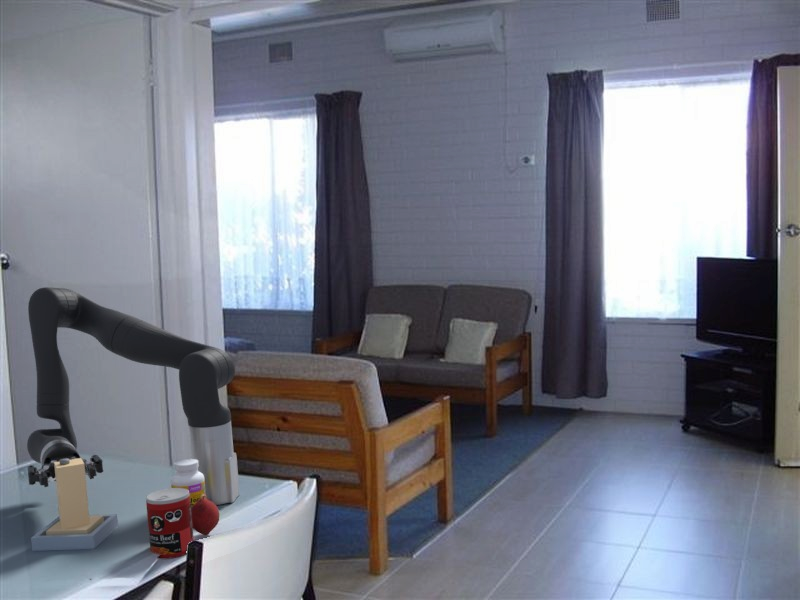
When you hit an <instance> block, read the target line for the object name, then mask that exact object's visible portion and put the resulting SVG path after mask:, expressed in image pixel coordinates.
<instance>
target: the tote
mask: <svg viewBox="0 0 800 600" xmlns="http://www.w3.org/2000/svg"><path fill="white" fill-rule="evenodd" d="M102 515H103V517H104V522H103V523H102V524H101V525H100V526H98V527H97V528H96V529H95V530H94V531H93V532H92V533H90V534H75V535H47V536H46V531H47V530H48V529H49V528H51V527H52V526H53V525H55V524H56V523H57V522H58V521H60V518H59V516H58V517H56V518H55V519H54V520H52V521H51V522H50V523H48V524H47V525H46V526H45V527H43V528H42V529H41V530H39V531H38V532H36V533H35V534H34V535H33V536H32V537H31V538H30V539H31V540H30V541H31V550H32V552H38V551H40V552H41V551H42V552H43V551H62V550H63V551H67V550H69V551H71V550H72V551H73V550H95V548H97V547H98V546H99V545H100V544H102V543H103V541H105V540H106V539H107V537H109V536H110V535H111V534H112V533H113V532H114V531H115V530H117V528H119V523H118V522H119V520H118V514H117V513H115V514H109V513H108V514H89V516H102Z"/></svg>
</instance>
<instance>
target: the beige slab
mask: <svg viewBox="0 0 800 600" xmlns="http://www.w3.org/2000/svg"><path fill="white" fill-rule="evenodd" d="M101 515H102V516H89V518H90V524H88V525H83V526H78V527H73V528H68V529H62V526H61V524H60V521H58V522H57V523H56V524H55V525H53V526H52V527H51V528H49V529H48V530H47V531H46V536H47V535H75V534H90V533H92V532H93V531H94V530H95V529H96V528H97V527H98V526H100V525H101V524H102V523H103V522H104V517H103V515H104V514H101Z"/></svg>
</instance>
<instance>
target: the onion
mask: <svg viewBox="0 0 800 600" xmlns="http://www.w3.org/2000/svg"><path fill="white" fill-rule="evenodd" d="M206 497H207V496H206V495H201V497H200V499H199V500H198V501H197V502H196V503H195V504H194V505H193V506H192V508H191V516H192V529H193V530H194V531H196V532H197V533H199V534H200V535H203V536H208V535H209V534H210V533H211V532H212V531H214V529H215V528H216V527H217V526H218V524H219V522H220V510H219V508H218V505H215V504H214V503H213V502H211V501H209V500H207V498H206Z"/></svg>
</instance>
